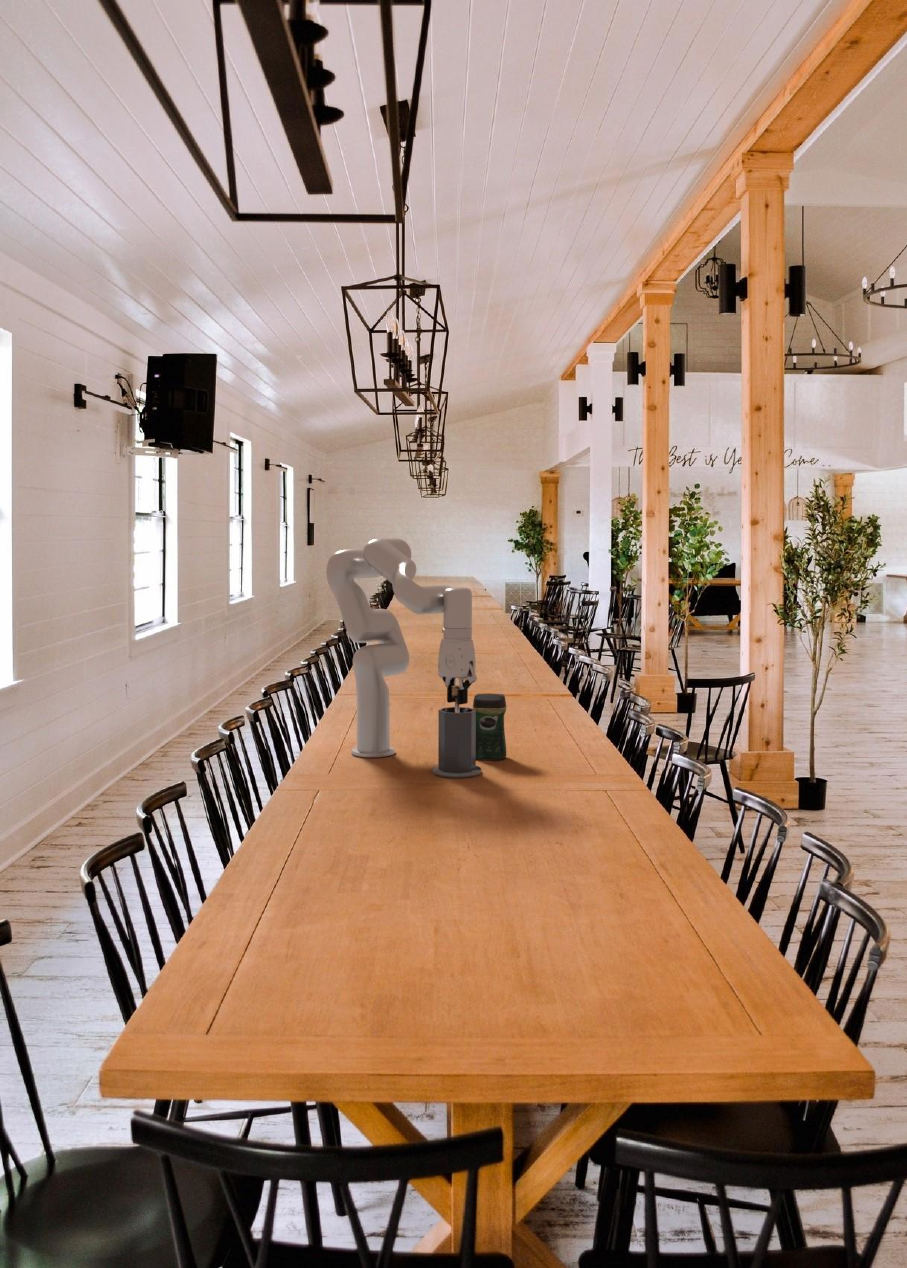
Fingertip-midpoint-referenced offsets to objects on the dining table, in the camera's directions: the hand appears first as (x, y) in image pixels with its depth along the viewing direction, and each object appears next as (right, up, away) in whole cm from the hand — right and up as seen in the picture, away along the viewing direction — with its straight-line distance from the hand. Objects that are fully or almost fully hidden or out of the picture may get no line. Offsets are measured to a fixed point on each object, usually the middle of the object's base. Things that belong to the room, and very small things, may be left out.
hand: (457, 702), depth 276 cm
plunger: (0, -18, +2) cm, 18 cm away
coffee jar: (+9, -17, +20) cm, 28 cm away
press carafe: (0, -19, +2) cm, 19 cm away
